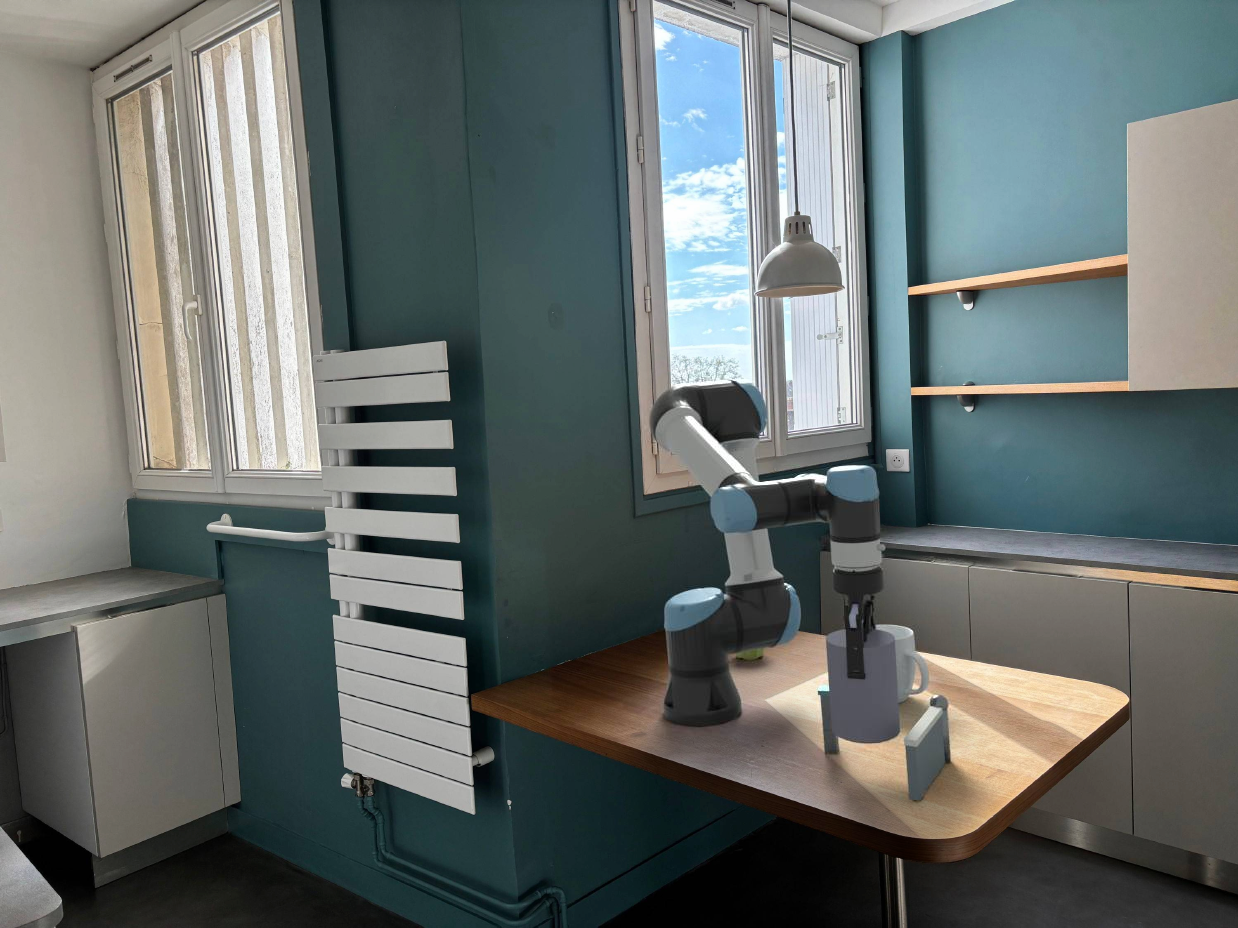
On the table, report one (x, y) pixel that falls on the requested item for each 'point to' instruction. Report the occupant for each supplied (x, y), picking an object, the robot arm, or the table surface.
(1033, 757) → the table surface
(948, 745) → the hinge post
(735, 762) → the table surface
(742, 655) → the plant pot
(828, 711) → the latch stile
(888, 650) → the container
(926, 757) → the grey flat board
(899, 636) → the mug
